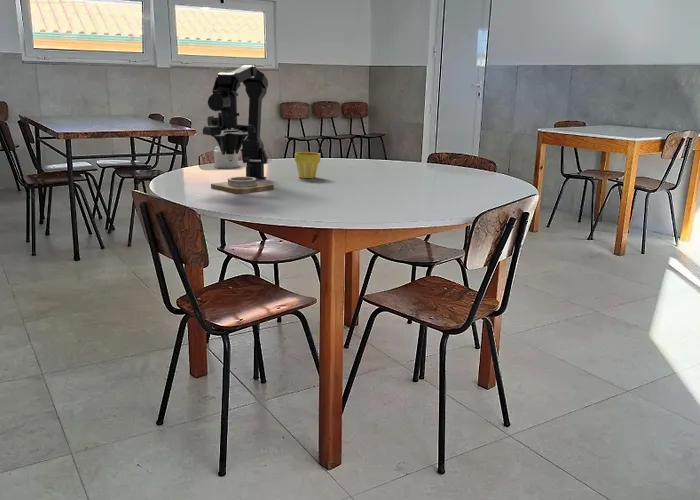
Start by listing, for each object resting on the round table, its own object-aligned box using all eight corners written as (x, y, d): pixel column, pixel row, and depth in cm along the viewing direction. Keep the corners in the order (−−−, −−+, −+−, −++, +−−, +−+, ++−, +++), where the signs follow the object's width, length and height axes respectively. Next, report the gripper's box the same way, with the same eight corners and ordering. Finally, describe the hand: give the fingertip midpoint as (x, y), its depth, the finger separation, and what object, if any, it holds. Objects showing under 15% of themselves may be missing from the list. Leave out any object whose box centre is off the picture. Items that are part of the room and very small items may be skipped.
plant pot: (325, 178, 254) (325, 154, 251) (303, 180, 248) (303, 155, 245) (311, 174, 262) (311, 151, 259) (289, 176, 256) (289, 152, 253)
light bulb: (234, 162, 222) (233, 134, 220) (219, 161, 224) (218, 133, 221) (241, 160, 228) (240, 132, 225) (226, 159, 229) (225, 132, 226)
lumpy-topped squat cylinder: (213, 167, 276) (212, 147, 274) (216, 163, 288) (215, 144, 286) (237, 167, 277) (236, 148, 275) (238, 163, 290) (238, 144, 287)
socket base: (246, 183, 238) (246, 174, 237) (273, 188, 227) (273, 179, 226) (210, 187, 226) (210, 178, 225) (238, 194, 216) (237, 184, 215)
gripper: (237, 108, 233) (238, 150, 237) (193, 109, 220) (195, 153, 224) (255, 109, 225) (256, 153, 229) (210, 110, 212) (212, 157, 217)
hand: (230, 154), depth 225 cm, fingers closed on light bulb, 5 cm apart
